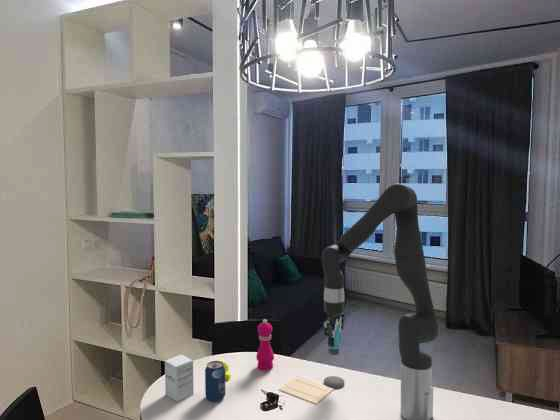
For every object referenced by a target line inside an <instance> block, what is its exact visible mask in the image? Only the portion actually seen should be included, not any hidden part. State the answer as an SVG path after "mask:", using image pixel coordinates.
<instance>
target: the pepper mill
mask: <svg viewBox="0 0 560 420" xmlns="http://www.w3.org/2000/svg"><path fill="white" fill-rule="evenodd" d="M257 332H258V339H259V343H260V344H259V347H258V349H257V353H256V356H255V357H256V360H257V369H258V370H260V371H263V372H265V371H266V372H267V371H270V370H272V369H274V362H273V361H274V359H275V355H274V354H275V353H274V351H273V348H272V346H271V339H272V332H273V326H272V324H271V323H270V322H268V320H267V319H263V320H262V322H261V323H259V324H258V326H257Z"/></svg>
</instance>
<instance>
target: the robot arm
mask: <svg viewBox="0 0 560 420" xmlns="http://www.w3.org/2000/svg"><path fill="white" fill-rule="evenodd" d="M417 197H418V196H417V193H416V192H415V190H414V189H413V188H412V187H410V186H407V185H406V184H402V183H393V184H391V185H389V186H387V188H386V189H385V190H384V191H383V192H382V193H381V195H380V196H379V197H378V199H377V200H376V201H375V202H374V204H373V205H371V207H370V208H369V209H368V210H367V212H366V213H365V214H363V216H361V218H360V219H359V220H357V221H356V222H355V223H354V224H352V226H351V227H350V228H348V229H347V230H346V231H345V232H344V233H343V234H342V235H341V236H340V238H339V239H338V240H337V241H336V242H335V243H334V244H332V245H329V246H328V247H325V248H324V249H323V250H322V254H321V265H322V269H323V273H324V290H323V312H325V313H326V320H325V321H322V324H321V325H322V329H323V333H324V334H323V335H324V336H325V337H327V344H328V345H327V346H330V347H334V334H335V331H336V328H337V323H338V321H339V343H340V342H341V333H342V331H343V330H344V326H345V319H346V314H345V313H344V312H345V290H344V289H345V287H344V286H345V284H344V282H345V281H344V280H345V279H344V277H345V275H344V273H343V272H342V271H341V265H340V264H341V263H343V262H344V261H345V260H346V259H348V258H349V257H350V255H352V253H354V251H355V250H357V249H358V248H359V247H361V246H362V245H363V244H364V243H365V242H366V241H367V240H369V239H370V238H371V236H372V235H373V234H374V232H375V231H376V229H377V228H378V227H379V225H380V224H381V223H383V222H384V221H385V220H386V219H387V218H388V217H390V216H392V215H393V214H394V217H395V219H394V220H395V223H396V237H395V240H394V241H395V243H394V251H393V252H394V261H395V267H396V268H395V269H396V273H397V275H398V277H399V279H400V280H401V281H402V283H403V284H404V286H405V287H406V288H407V290H408V291H409V293H410V295H411V296H412V300H413V301H414V306H415V311H416V312H413V313H407V314H403V315H401V316H400V318H399V320H398V326H397V329H398V331H397V333H398V349H399V353H400V355H399V356H400V408H399V409H400V415H401V417H402V418H403V419H404V420H432V418H433V417H434V414H433V413H434V387H433V386H432V375H433V374H432V373H433V372H432V370H433V369H432V368H433V367H432V365H433V359H432V355H431V354H429V353H428V352H426V351H423V350H422V349H420V344H426V343H429V342H434V341H436V339H437V338H438V336H439V335H438V334H439V325H438V320H437V314H436V312H435V308H434V303H433V300H432V295H431V291H430V286H429V285H430V284H429V279H428V273H427V265H426V258H425V253H424V248H423V247H424V246H423V242H422V235H421V231H420V227H419V212H418V198H417ZM331 327H334V328H331ZM331 330H332V332H331Z"/></svg>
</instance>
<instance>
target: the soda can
mask: <svg viewBox="0 0 560 420" xmlns="http://www.w3.org/2000/svg"><path fill="white" fill-rule="evenodd" d="M204 379H205V380H204V383H205V385H204V390H205V391H204V392H205V393H204V395H205V397H206V399H207V400H208V401H209V402H211V403H218V402H221V401H223V400H224V398H225V396H226V380H225V367H224V365H223V362H221V361H220V360H213V361H210V362H208V363H207V364H206V367H205V370H204Z"/></svg>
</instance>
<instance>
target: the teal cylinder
mask: <svg viewBox="0 0 560 420" xmlns="http://www.w3.org/2000/svg"><path fill="white" fill-rule="evenodd" d="M331 328H334V327H331ZM331 332H332V330H331ZM327 346H328V345H327ZM327 351H328V353H327V354H329V355H332V356H336V355H337V356H338V355H339V354H340V342H339V321H338V323H337V328H336V331H335V334H334V347H330V346H328V350H327Z"/></svg>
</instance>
